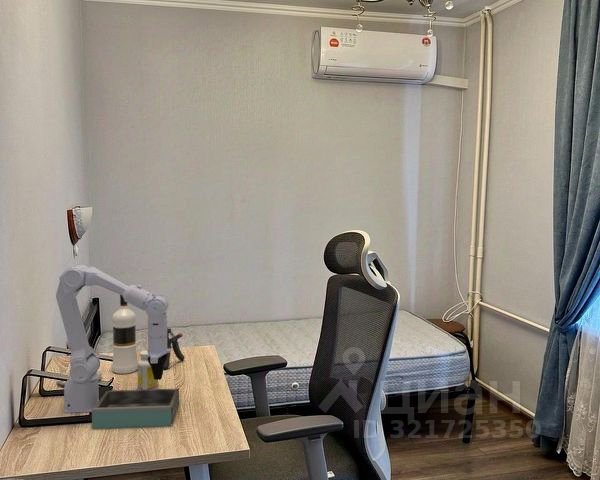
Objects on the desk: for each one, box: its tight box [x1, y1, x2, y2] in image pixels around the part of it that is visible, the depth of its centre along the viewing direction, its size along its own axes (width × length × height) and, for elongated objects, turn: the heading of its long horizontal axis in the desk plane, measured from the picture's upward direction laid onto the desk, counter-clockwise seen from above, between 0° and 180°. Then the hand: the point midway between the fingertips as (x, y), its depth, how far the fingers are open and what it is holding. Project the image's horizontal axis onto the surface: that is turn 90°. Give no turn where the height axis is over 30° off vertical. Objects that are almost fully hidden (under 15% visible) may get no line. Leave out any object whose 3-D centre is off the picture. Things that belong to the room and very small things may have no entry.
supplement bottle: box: [136, 349, 159, 390], centre depth 179 cm, size 7×7×13 cm
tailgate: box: [91, 406, 172, 430], centre depth 150 cm, size 22×1×6 cm, turn 95°
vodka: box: [111, 294, 138, 375], centre depth 197 cm, size 9×9×30 cm
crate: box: [95, 388, 180, 425], centre depth 159 cm, size 22×15×5 cm
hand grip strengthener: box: [163, 327, 185, 371], centre depth 204 cm, size 2×12×15 cm, turn 158°
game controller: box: [57, 370, 103, 386], centre depth 186 cm, size 14×4×10 cm
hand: (158, 378), depth 165 cm, fingers closed
